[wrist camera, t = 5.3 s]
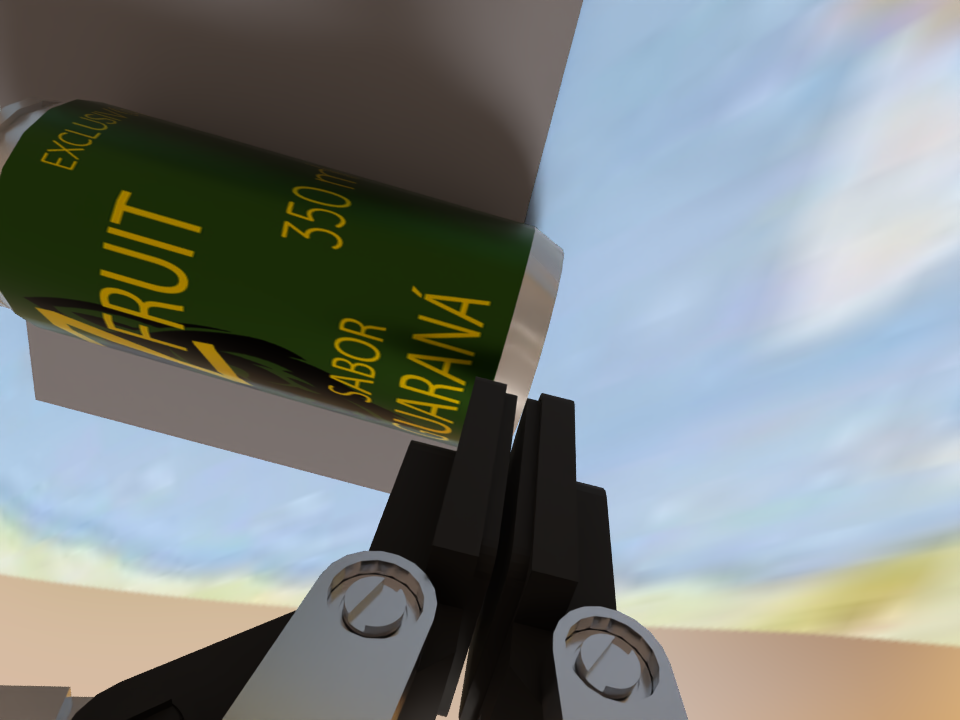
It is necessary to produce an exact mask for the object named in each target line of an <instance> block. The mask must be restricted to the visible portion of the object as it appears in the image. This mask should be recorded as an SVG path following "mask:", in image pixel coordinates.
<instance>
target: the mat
mask: <svg viewBox="0 0 960 720" xmlns="http://www.w3.org/2000/svg"><path fill="white" fill-rule="evenodd" d="M582 2H583V0H0V110H1V109H3V108H4V107H5V106H7V105H10V104H13V103H16V102H19V101H22V100H25V99H28V98H31V97H35V98H43V99H51V100H58V101H62V102H66V101H71V100H75V99H80V100H88V101H96V102H103V103H106V104H110V105H113V106H117V107H120V108H124V109H127V110H131V111H134V112H138V113H141V114H145V115H148V116H151V117H155V118H158V119H162V120H165V121H169V122H172V123H176V124H179V125H183V126H186V127H190V128H193V129H197V130H200V131H204V132H207V133H211V134H214V135H217V136H221V137H224V138H228V139H231V140H235V141H238V142H242V143H245V144H249V145H252V146H256V147H259V148H263V149H266V150H270V151H273V152H277V153H280V154H284V155H287V156H290V157H294V158H297V159H301V160H304V161H308V162H311V163H315V164H318V165H322V166H325V167H329V168H332V169H336V170H339V171H343V172H346V173H350V174H353V175H357V176H360V177H363V178H367V179H370V180H374V181H377V182H381V183H384V184H388V185H391V186H395V187H398V188H402V189H405V190H409V191H412V192H416V193H419V194H423V195H426V196H430V197H433V198H436V199H440V200H443V201H447V202H450V203H454V204H457V205H461V206H464V207H468V208H471V209H475V210H478V211H482V212H485V213H489V214H492V215H496V216H499V217H503V218H506V219H509V220H513V221H516V222H520V223H523V224H524V221H525V217H526V213H527V209H528V206H529V202H530V198H531V194H532V191H533V187H534V183H535V179H536V176H537V172H538V168H539V164H540V161H541V157H542V153H543V149H544V145H545V142H546V138H547V134H548V130H549V127H550V123H551V119H552V115H553V112H554V108H555V104H556V100H557V97H558V93H559V89H560V85H561V82H562V78H563V74H564V70H565V66H566V63H567V59H568V55H569V51H570V48H571V44H572V40H573V36H574V33H575V29H576V25H577V21H578V18H579V14H580V10H581V6H582ZM26 324H27V332H28V340H29V349H30V357H31V365H32V373H33V381H34V390H35V398H36V400H39V401H43V402H47V403H50V404H54V405H58V406H62V407H66V408H69V409H73V410H77V411H81V412H84V413H88V414H92V415H96V416H100V417H103V418H107V419H111V420H115V421H118V422H122V423H126V424H130V425H133V426H137V427H141V428H145V429H149V430H152V431H156V432H160V433H164V434H167V435H171V436H175V437H179V438H182V439H186V440H190V441H194V442H198V443H201V444H205V445H209V446H213V447H216V448H220V449H224V450H228V451H231V452H235V453H239V454H243V455H247V456H250V457H254V458H258V459H262V460H265V461H269V462H273V463H277V464H280V465H284V466H288V467H292V468H296V469H299V470H303V471H307V472H311V473H314V474H318V475H322V476H326V477H330V478H333V479H337V480H341V481H345V482H348V483H352V484H356V485H360V486H363V487H367V488H371V489H375V490H379V491H382V492H386V493H390V494H391V491H392V488H393V486H394V483H395V481H396V478H397V475H398V473H399V470H400V467H401V465H402V462H403V459H404V457H405V454H406V451H407V449H408V446H409V444H410V442H411V440H414V441H418V442H422V443H426V444H430V445H434V446H438V447H442V448H446V449H450V450H454V451H457V447H454V446H451V445H447V444H444V443H440V442H437V441H433V440H430V439H426V438H423V437H419V436H416V435H412V434H409V433H405V432H402V431H398V430H395V429H391V428H388V427H384V426H381V425H377V424H374V423H370V422H367V421H363V420H360V419H357V418H353V417H350V416H346V415H343V414H339V413H336V412H332V411H329V410H325V409H322V408H318V407H315V406H311V405H308V404H304V403H301V402H297V401H294V400H290V399H287V398H283V397H280V396H276V395H273V394H269V393H266V392H262V391H259V390H255V389H252V388H248V387H245V386H241V385H238V384H234V383H231V382H227V381H224V380H220V379H217V378H213V377H210V376H206V375H203V374H199V373H196V372H192V371H189V370H185V369H182V368H178V367H175V366H171V365H168V364H164V363H161V362H157V361H154V360H150V359H147V358H143V357H140V356H136V355H133V354H129V353H126V352H122V351H119V350H115V349H112V348H108V347H105V346H102V345H98V344H95V343H91V342H88V341H84V340H81V339H77V338H74V337H70V336H67V335H63V334H60V333H56V332H53V331H49V330H46V329H42V328H39V327H36V326H35V325H33V324H31V323H30V322H28V321H26Z"/></svg>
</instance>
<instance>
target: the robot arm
mask: <svg viewBox="0 0 960 720" xmlns="http://www.w3.org/2000/svg"><path fill="white" fill-rule="evenodd" d="M506 390H507V384H504V383H500V382H496V381H492V380H488V379H484V378H481V377H477V376H476V378H475V382H474V386H473V390H472V393H471V397H470V401H469V405H468V409H467V413H466V417H465V420H464V424H463V428H462V432H461V436H460V440H459V444H458V447H457V451H454V450H450V449H446V448H442V447H438V446H434V445H430V444H426V443H422V442H418V441H414V440H411V442H410V444H409V446H408V449H407V451H406V454H405V457H404V459H403V462H402V465H401V467H400V470H399V473H398V475H397V478H396V481H395V483H394V486H393V488H392V491H391V494H390V496H389V499H388V502H387V504H386V507H385V510H384V512H383V515H382V518H381V520H380V523H379V525H378V528H377V531H376V533H375V536H374V539H373V541H372V544H371V547H370V549H369V551H362V552H358V553H354V554H349V555H346V556H344V557H342V558H341V559H339V560H337V561H335V562H333V563H332V564H331V565H330V566H329V567H328V568H327V569H326V570H325V571H324V572H323V573H322V574H321V575H320V576H319V578H318V579H317V581H316V582H315V584H314V585H313V587H312V588H311V590H310V591H309V593H308V594H307V595H306V597H305V598H304V600H303V601H302V603H301V604H300V606H299V607H298V609H297V610H296V611H293V612H291V613H288V614H286V615H283V616H281V617H278V618H276V619H274V620H271V621H269V622H266V623H264V624H261V625H259V626H256V627H254V628H252V629H249V630H247V631H244V632H242V633H239V634H237V635H235V636H232V637H229V638H227V639H225V640H222V641H220V642H217V643H215V644H212V645H210V646H207V647H205V648H203V649H200V650H198V651H195V652H193V653H190V654H188V655H186V656H183V657H181V658H178V659H176V660H173V661H171V662H168V663H166V664H163V665H161V666H158V667H156V668H154V669H151V670H149V671H146V672H144V673H141V674H139V675H137V676H134V677H132V678H129V679H127V680H124V681H122V682H120V683H118V684H116V685H114V686H112V687H110V688H108V689H107V690H105V691H103V692H101V693H99V694H97V695H96V696H95V697H71V689H70V687H51V686H3V685H0V720H435V719H436V716H437V715H441V716H445V717H447V715H448V712H449V709H450V705H451V703H452V699H453V696H454V693H455V690H456V686H457V684H458V680H459V677H460V674H461V670H462V668H463V664H464V661H465V658H466V655H467V652H468V649H469V652H468V659H467V665H466V671H465V678H464V684H463V691H462V697H461V704H460V710H459V720H688V718H687V715H686V711H685V708H684V705H683V702H682V699H681V696H680V692H679V689H678V686H677V683H676V680H675V677H674V674H673V671H672V667H671V664H670V662H669V660H668V658H667V656H666V654H665V652H664V649H663V647H662V646H661V645H660V644H659V642H658V641H657V640H656V639H655V637H654V636H653V635H652V634H651V632H649V631H648V630H647V629H646V628H645V627H643V626H642V625H641V624H640V623H638V622H637V621H636V620H635V619H633V618H631V617H629V616H627V615H625V614H623V613H621V612H619V611H617V610H616V598H615V587H614V575H613V564H612V553H611V541H610V530H609V518H608V507H607V496H606V491H605V490H604V489H603V488H601V487H597V486H593V485H589V484H585V483H581V482H577V481H576V447H575V404H574V401H572V400H568V399H564V398H560V397H556V396H552V395H548V394H544V393H542V394H541V395H540V398H539V400H538V401H537V400H533V399H529V398H527V400H526V403H525V406H524V409H523V413H522V416H521V419H520V423H519V426H518V429H517V433H516V436H515V440H514V443H513V446H512V450H511V444H512V436H513V429H514V421H515V414H516V406H517V398H518V396H517V395H513V394H509V393H506ZM510 452H511V453H510Z"/></svg>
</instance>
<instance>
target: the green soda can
mask: <svg viewBox="0 0 960 720" xmlns="http://www.w3.org/2000/svg"><path fill="white" fill-rule="evenodd" d="M563 258H564V252H563V249H561V248H560V247H559V246H558V245H557V244H555V243H554V242H553V241H552V240H550V239H549V238H548V237H547V236H546V235H544V234H543V233H542V232H541V231H540V230H538V229H537V228H536V227H534V226H530V225H527V224H523V223H520V222H516V221H513V220H509V219H506V218H503V217H499V216H496V215H492V214H489V213H485V212H482V211H478V210H475V209H471V208H468V207H464V206H461V205H457V204H454V203H450V202H447V201H443V200H440V199H436V198H433V197H430V196H426V195H423V194H419V193H416V192H412V191H409V190H405V189H402V188H398V187H395V186H391V185H388V184H384V183H381V182H377V181H374V180H370V179H367V178H363V177H360V176H357V175H353V174H350V173H346V172H343V171H339V170H336V169H332V168H329V167H325V166H322V165H318V164H315V163H311V162H308V161H304V160H301V159H297V158H294V157H290V156H287V155H284V154H280V153H277V152H273V151H270V150H266V149H263V148H259V147H256V146H252V145H249V144H245V143H242V142H238V141H235V140H231V139H228V138H224V137H221V136H217V135H214V134H211V133H207V132H204V131H200V130H197V129H193V128H190V127H186V126H183V125H179V124H176V123H172V122H169V121H165V120H162V119H158V118H155V117H151V116H148V115H145V114H141V113H138V112H134V111H131V110H127V109H124V108H120V107H117V106H113V105H110V104H106V103H103V102H96V101H88V100H80V99H75V100H71V101H66V102H62V101H58V100H51V99H43V98H35V97H31V98H28V99H25V100H22V101H19V102H16V103H13V104H10V105H7V106H5V107H4V108H3V109H1V110H0V306H2V307H6V308H10V309H11V310H12V311H13V312H14V313H15V314H17V315H18V316H20V317H22V318H23V319H25V320H26V321H28V322H30V323H31V324H33V325H35V326H36V327H39V328H42V329H46V330H49V331H53V332H56V333H60V334H63V335H67V336H70V337H74V338H77V339H81V340H84V341H88V342H91V343H95V344H98V345H102V346H105V347H108V348H112V349H115V350H119V351H122V352H126V353H129V354H133V355H136V356H140V357H143V358H147V359H150V360H154V361H157V362H161V363H164V364H168V365H171V366H175V367H178V368H182V369H185V370H189V371H192V372H196V373H199V374H203V375H206V376H210V377H213V378H217V379H220V380H224V381H227V382H231V383H234V384H238V385H241V386H245V387H248V388H252V389H255V390H259V391H262V392H266V393H269V394H273V395H276V396H280V397H283V398H287V399H290V400H294V401H297V402H301V403H304V404H308V405H311V406H315V407H318V408H322V409H325V410H329V411H332V412H336V413H339V414H343V415H346V416H350V417H353V418H357V419H360V420H363V421H367V422H370V423H374V424H377V425H381V426H384V427H388V428H391V429H395V430H398V431H402V432H405V433H409V434H412V435H416V436H419V437H423V438H426V439H430V440H433V441H437V442H440V443H444V444H447V445H451V446H454V447H458V444H459V440H460V436H461V432H462V428H463V424H464V420H465V417H466V413H467V409H468V405H469V401H470V397H471V393H472V390H473V386H474V382H475V378H476V376H477V377H481V378H484V379H488V380H492V381H496V382H500V383H504V384H507V390H506V393H509V394H513V395H517V396H518V398H517V406H516V414H515V421H514V429H513V434H514V432H515V429H516V427H517V425H518V422H519V419H520V416H521V414H522V411H523V408H524V405H525V403H526V400H527V397H528V394H529V391H530V387H531V384H532V381H533V378H534V375H535V372H536V369H537V366H538V362H539V359H540V355H541V352H542V348H543V345H544V341H545V338H546V334H547V331H548V327H549V323H550V319H551V315H552V311H553V307H554V304H555V300H556V296H557V291H558V286H559V282H560V277H561V272H562V266H563Z"/></svg>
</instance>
